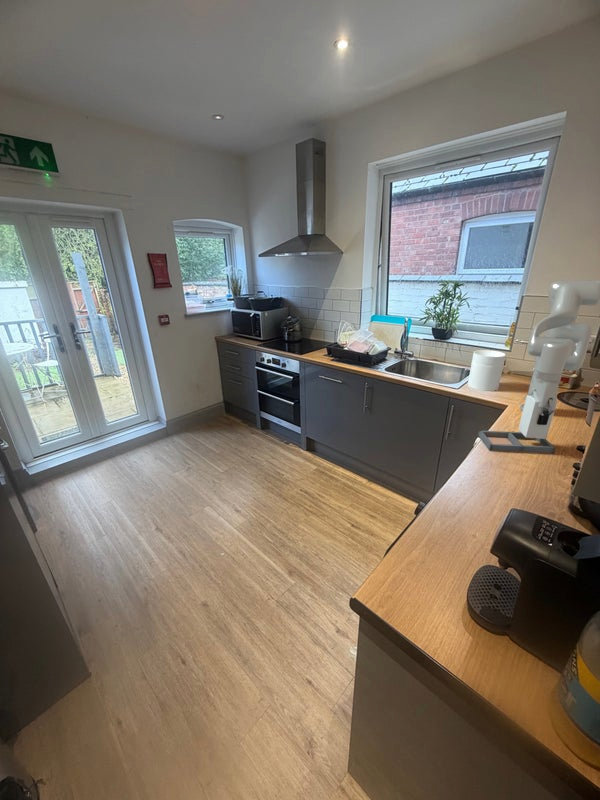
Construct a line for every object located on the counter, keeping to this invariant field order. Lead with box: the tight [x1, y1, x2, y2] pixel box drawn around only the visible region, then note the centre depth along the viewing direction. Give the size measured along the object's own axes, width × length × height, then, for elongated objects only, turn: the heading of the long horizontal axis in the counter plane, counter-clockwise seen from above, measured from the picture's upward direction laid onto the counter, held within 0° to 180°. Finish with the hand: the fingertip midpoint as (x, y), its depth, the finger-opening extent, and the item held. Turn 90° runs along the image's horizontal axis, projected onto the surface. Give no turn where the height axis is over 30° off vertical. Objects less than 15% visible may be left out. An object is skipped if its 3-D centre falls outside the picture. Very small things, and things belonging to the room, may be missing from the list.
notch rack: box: [477, 430, 557, 455], centre depth 130 cm, size 12×23×2 cm, turn 82°
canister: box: [467, 349, 507, 392], centre depth 188 cm, size 16×16×20 cm
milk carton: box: [517, 388, 558, 440], centre depth 124 cm, size 7×7×19 cm
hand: (535, 419), depth 125 cm, fingers closed on milk carton, 7 cm apart
